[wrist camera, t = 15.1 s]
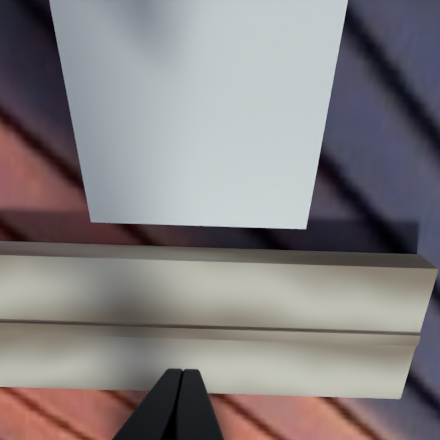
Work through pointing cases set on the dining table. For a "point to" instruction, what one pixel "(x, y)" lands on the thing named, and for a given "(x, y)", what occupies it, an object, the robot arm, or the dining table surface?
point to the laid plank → (210, 318)
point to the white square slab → (199, 106)
